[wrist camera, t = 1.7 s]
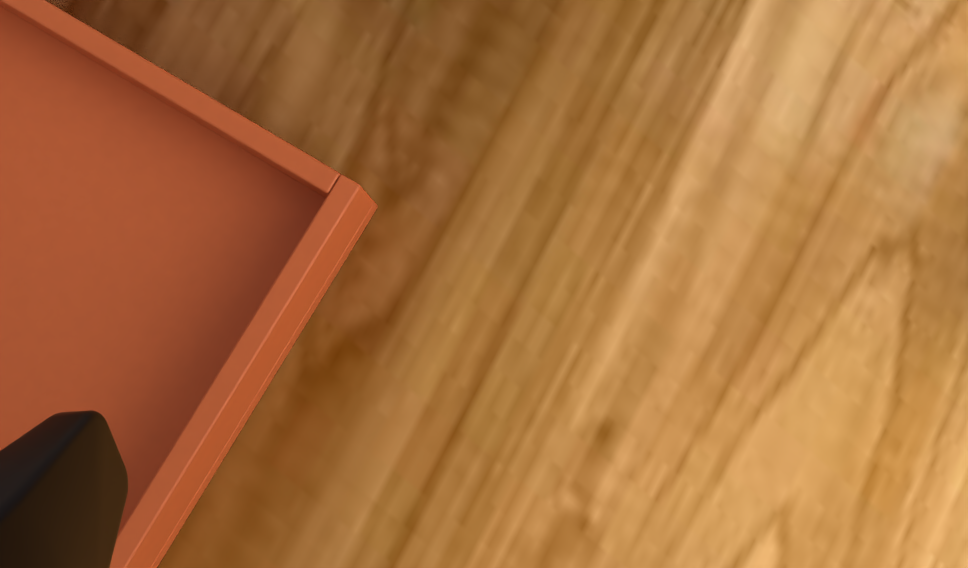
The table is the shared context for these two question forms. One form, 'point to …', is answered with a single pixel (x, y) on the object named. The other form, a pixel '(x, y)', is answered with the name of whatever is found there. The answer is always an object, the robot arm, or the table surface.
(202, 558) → the table surface
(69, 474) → the robot arm
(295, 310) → the terracotta tray
